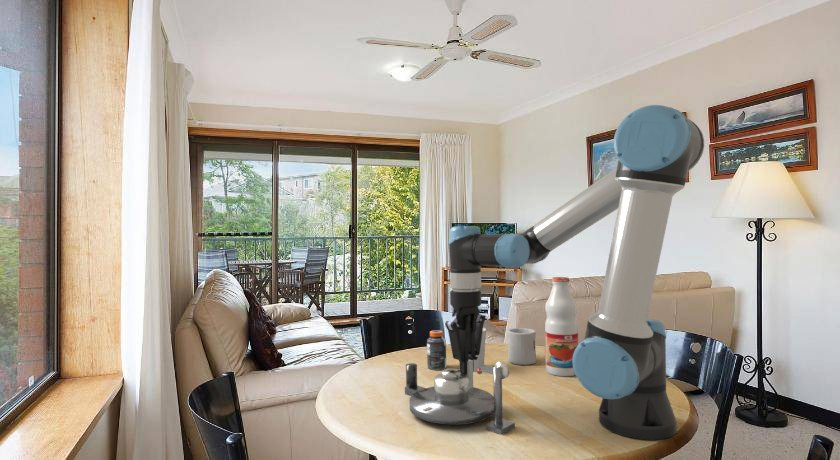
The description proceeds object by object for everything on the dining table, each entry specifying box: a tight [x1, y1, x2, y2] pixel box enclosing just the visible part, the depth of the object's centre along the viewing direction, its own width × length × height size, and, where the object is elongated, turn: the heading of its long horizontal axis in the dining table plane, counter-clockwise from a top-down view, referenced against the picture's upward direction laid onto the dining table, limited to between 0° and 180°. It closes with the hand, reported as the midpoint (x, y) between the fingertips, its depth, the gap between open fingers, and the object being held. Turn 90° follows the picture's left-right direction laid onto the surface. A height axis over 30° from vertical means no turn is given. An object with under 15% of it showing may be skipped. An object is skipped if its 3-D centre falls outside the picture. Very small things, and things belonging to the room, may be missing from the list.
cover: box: [433, 368, 469, 405], centre depth 110 cm, size 8×8×7 cm
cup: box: [473, 327, 487, 372], centre depth 145 cm, size 8×8×12 cm
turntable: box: [404, 362, 494, 425], centre depth 112 cm, size 25×20×7 cm
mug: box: [507, 327, 537, 366], centre depth 153 cm, size 12×9×10 cm
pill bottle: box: [426, 329, 447, 371], centre depth 146 cm, size 6×6×11 cm
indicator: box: [476, 361, 516, 436], centre depth 102 cm, size 8×5×14 cm, turn 45°
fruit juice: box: [544, 276, 579, 377], centre depth 139 cm, size 9×9×28 cm
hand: (467, 386), depth 114 cm, fingers closed
